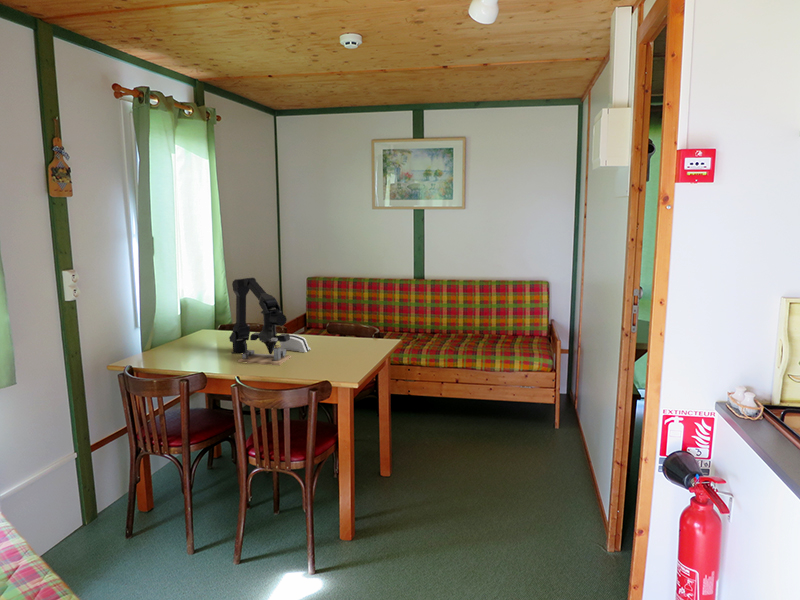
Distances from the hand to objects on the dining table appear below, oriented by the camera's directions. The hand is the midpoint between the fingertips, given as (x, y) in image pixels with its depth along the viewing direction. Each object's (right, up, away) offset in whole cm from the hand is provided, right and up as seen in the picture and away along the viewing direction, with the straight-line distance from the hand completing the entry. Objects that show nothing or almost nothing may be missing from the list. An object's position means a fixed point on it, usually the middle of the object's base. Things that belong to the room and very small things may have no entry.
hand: (270, 354), depth 279 cm
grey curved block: (+7, -1, +24) cm, 25 cm away
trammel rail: (-4, -2, +4) cm, 6 cm away
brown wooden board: (-4, -4, +4) cm, 7 cm away
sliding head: (+4, -2, +2) cm, 5 cm away
